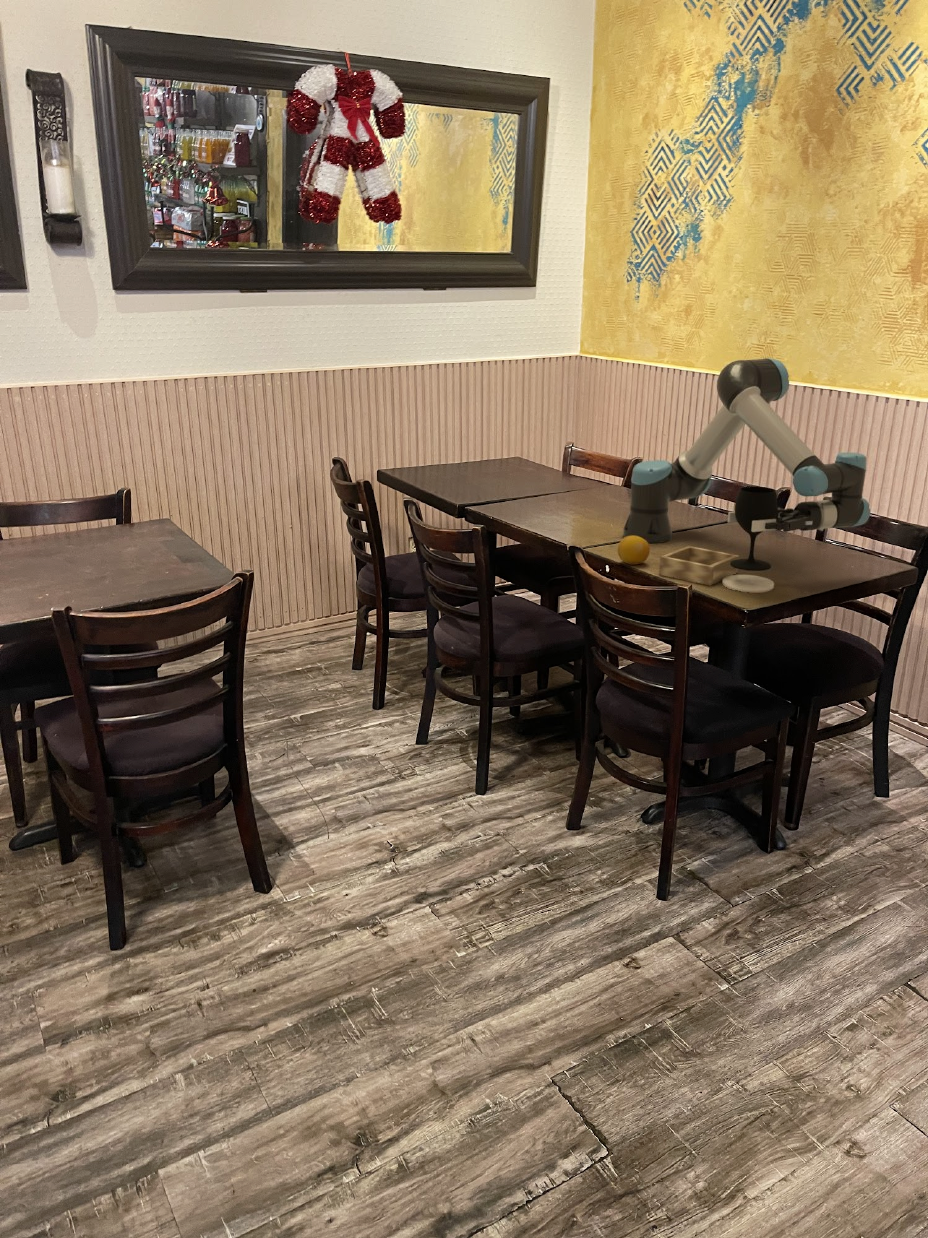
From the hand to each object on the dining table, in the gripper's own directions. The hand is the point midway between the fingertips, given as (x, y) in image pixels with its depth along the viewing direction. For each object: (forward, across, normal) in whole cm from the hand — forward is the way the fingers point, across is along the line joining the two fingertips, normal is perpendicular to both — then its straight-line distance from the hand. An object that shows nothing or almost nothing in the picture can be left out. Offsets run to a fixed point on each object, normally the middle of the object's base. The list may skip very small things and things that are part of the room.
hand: (740, 521), depth 242 cm
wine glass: (-4, 0, -12) cm, 13 cm away
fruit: (+15, +29, -18) cm, 37 cm away
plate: (-4, 0, -17) cm, 18 cm away
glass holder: (+2, +14, -17) cm, 22 cm away
